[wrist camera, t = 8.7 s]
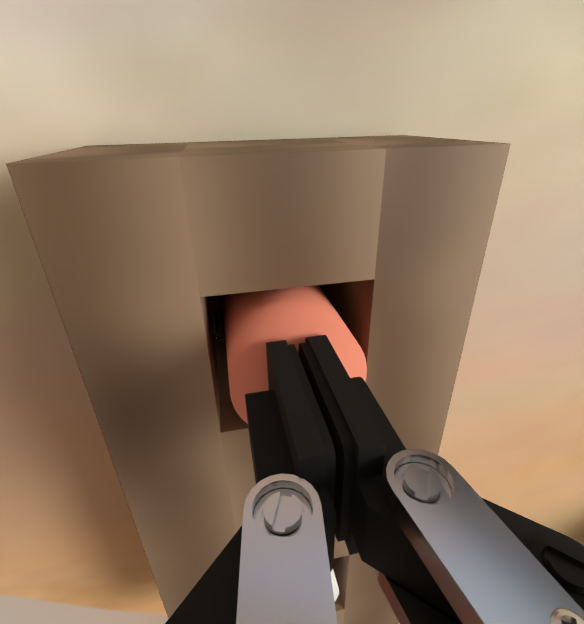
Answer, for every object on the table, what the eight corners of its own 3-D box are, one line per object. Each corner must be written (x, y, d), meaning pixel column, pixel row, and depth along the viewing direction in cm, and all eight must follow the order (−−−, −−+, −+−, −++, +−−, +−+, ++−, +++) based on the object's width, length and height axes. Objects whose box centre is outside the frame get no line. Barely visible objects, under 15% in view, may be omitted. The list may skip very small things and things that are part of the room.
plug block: (404, 135, 15) (510, 143, 10) (361, 527, 27) (398, 624, 22) (86, 146, 13) (6, 164, 8) (194, 564, 25) (190, 681, 20)
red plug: (318, 251, 15) (372, 314, 10) (317, 336, 17) (361, 424, 12) (216, 259, 14) (221, 332, 9) (227, 347, 16) (236, 445, 11)
